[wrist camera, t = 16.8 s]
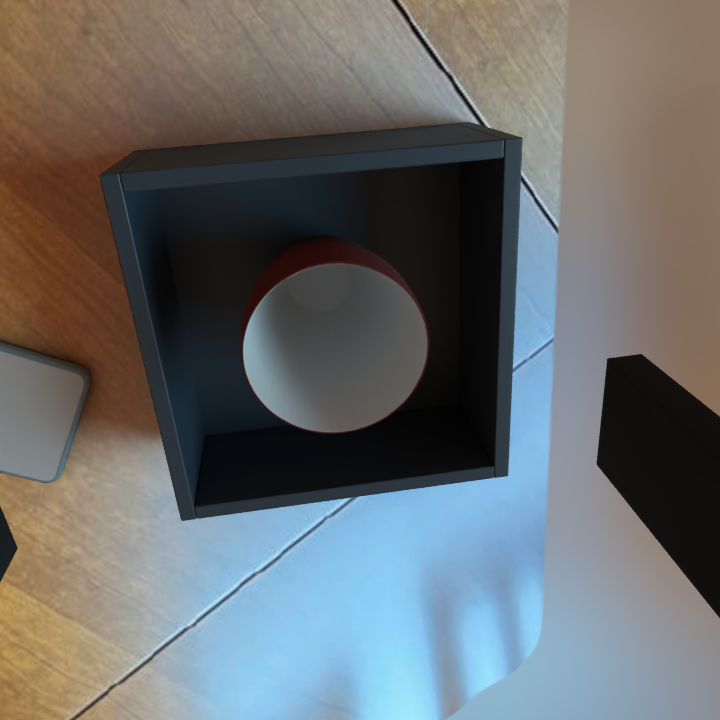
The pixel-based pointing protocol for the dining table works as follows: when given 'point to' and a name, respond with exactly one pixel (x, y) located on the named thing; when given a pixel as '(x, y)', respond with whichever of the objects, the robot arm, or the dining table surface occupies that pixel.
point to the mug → (332, 336)
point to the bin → (255, 252)
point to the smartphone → (38, 412)
